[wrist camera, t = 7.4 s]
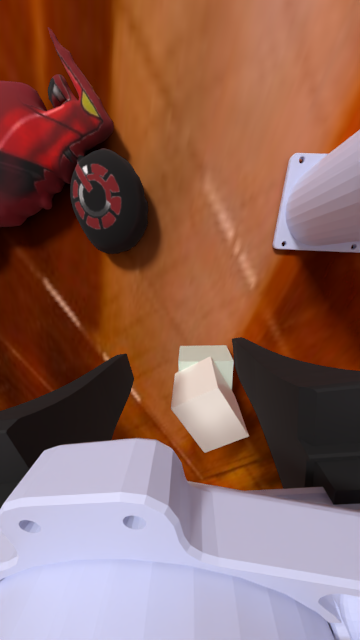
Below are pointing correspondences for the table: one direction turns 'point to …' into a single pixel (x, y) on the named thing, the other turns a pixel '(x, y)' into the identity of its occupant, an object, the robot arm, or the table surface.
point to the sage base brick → (199, 353)
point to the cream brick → (207, 406)
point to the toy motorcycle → (67, 160)
